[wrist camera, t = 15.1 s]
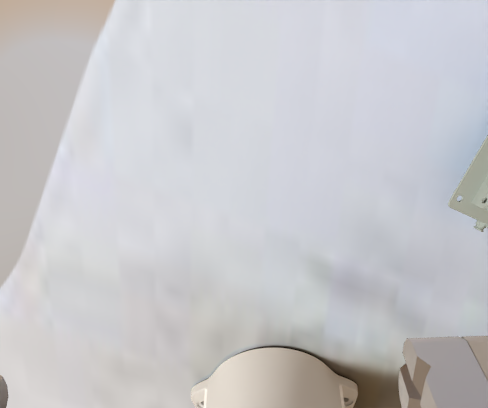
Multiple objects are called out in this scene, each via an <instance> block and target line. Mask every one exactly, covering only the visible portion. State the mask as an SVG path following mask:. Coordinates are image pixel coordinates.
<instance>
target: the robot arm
mask: <svg viewBox="0 0 488 408" xmlns="http://www.w3.org/2000/svg"><path fill="white" fill-rule="evenodd" d="M402 353H403V356H404V359H405V361H406V364H405V365H403V366H402V367H401V368H400V371H399V380H398V383H399V397H400V401H401V406H402V408H488V336H466V337H459V336H457V337H430V338H407V339H406V341H405V342H404V347H403V352H402ZM357 397H358V387H357V384H356V383H354V382H353V381H351V380H349V379H347V378H344V377H341V376H339V375H337V374H335V373H334V372H333V371H332V370H331V369H330V368H329V367H328V366H327V365H325V364H324V363H323V362H322V361H320V360H319V359H317V358H315V357H313V356H311V355H309V354H306V353H304V352H300V351H297V350H292V349H286V348H260V349H254V350H249V351H246V352H243V353H240V354H237V355H235V356H233V357H231V358H229V359H228V360H226V361H225V362H224V363H222V364H221V365H220V366H219V367H218V368H217V369H216V371H215V372H214V373H213V375H212V376H211V377H210V378H208V379H206V380H204V381H202V382H200V383H198V384H197V385H195V386H194V387H193V388H192V389H191V400H192V402H193V404H194V405H195V407H196V408H353V407H354V404H355V402H356V399H357ZM7 401H8V389H7V384H6V382H5V380H4V378H3V377H2V376H1V375H0V408H6V406H7Z"/></svg>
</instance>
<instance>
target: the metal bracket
mask: <svg viewBox="0 0 488 408" xmlns="http://www.w3.org/2000/svg"><path fill="white" fill-rule="evenodd" d="M459 195H461V196H462V199H461V200H460V201H457V197H458V196H459ZM448 206H449V207H450V208H452V209H454V210H457V211H459V212H461V213H463V214H465V215H468V216H470V217H472V218H474V219H476V220H477V222H476V227H475V226H474V228H475V229H477V230H479V231H482V232H483V229H484V228H486V227H487V228H488V135H487V137H486V139H485V140H484V142H483V144H482V146H481V147H480V149H479V151H478V152H477V154H476V156H475V158H474V159H473V161H472V163H471V164H470V166H469V168H468V169H467V171H466V173H465V175H464V176H463V178H462V180H461V181H460V183H459V185H458V187H457V188H456V190H455V192H454V193H453V195H452V197H451V199H450V200H449V202H448ZM481 229H482V230H481Z"/></svg>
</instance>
